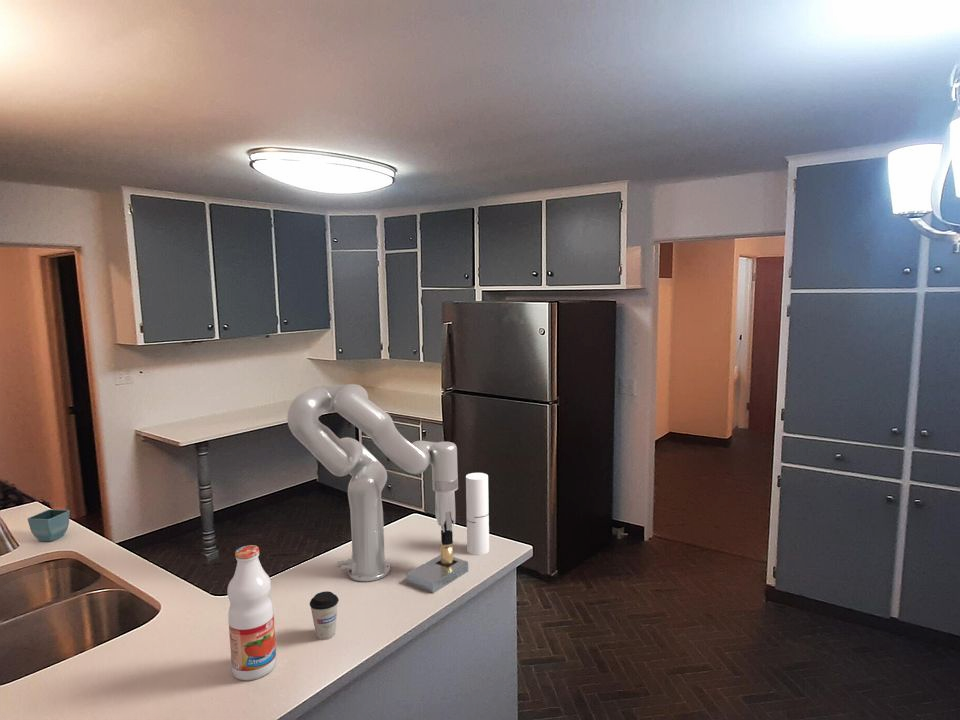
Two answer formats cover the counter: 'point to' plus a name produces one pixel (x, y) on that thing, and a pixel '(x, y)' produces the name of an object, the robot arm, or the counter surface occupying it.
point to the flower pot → (49, 524)
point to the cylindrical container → (477, 513)
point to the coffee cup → (324, 614)
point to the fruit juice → (251, 617)
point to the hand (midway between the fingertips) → (447, 543)
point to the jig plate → (436, 574)
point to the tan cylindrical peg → (446, 555)
